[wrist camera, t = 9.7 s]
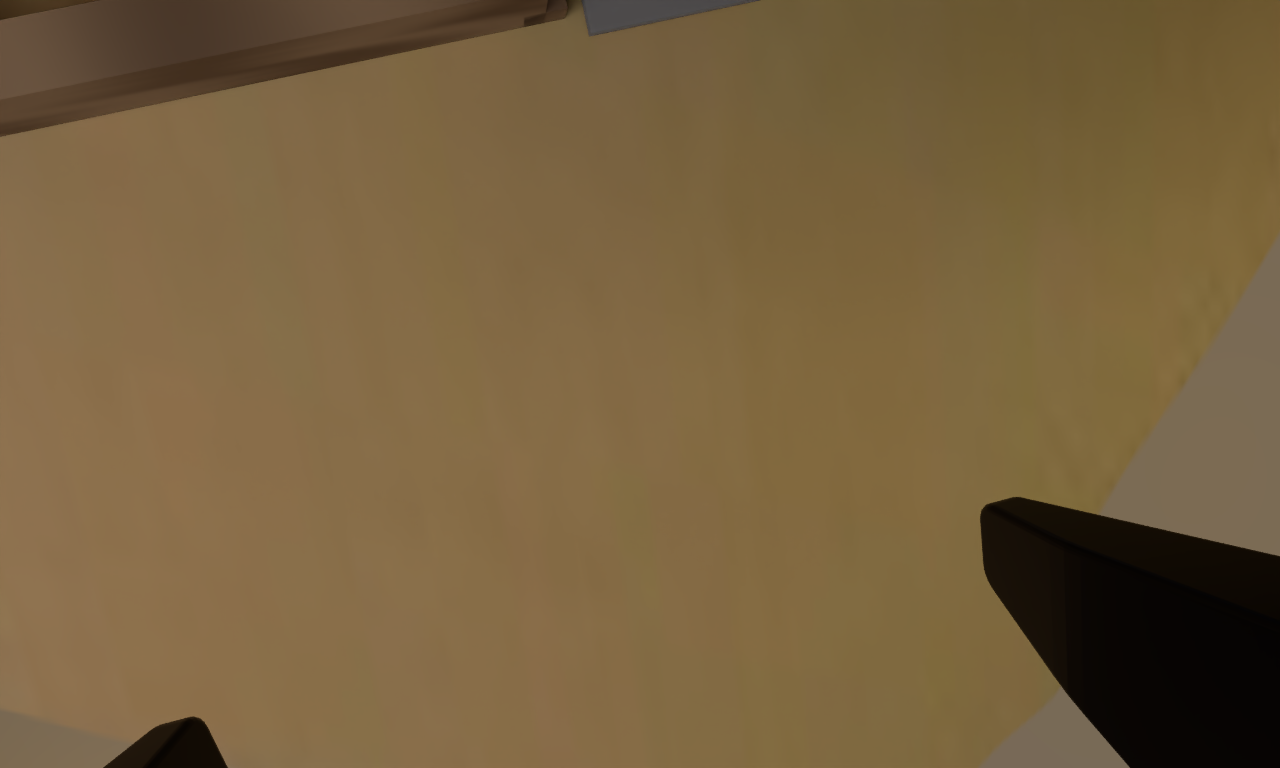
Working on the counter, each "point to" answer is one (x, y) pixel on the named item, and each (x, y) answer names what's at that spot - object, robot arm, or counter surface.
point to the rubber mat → (644, 12)
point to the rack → (215, 47)
